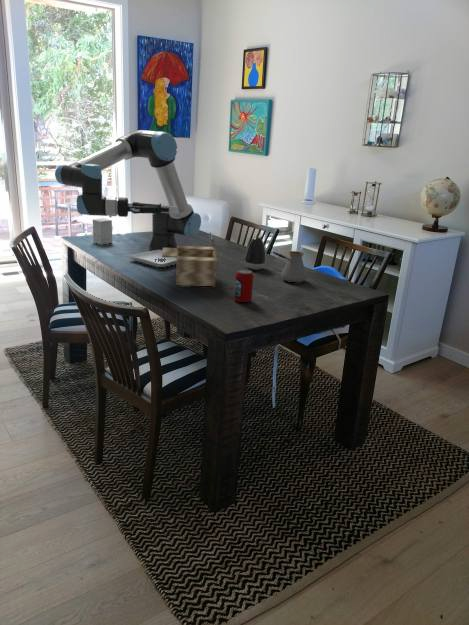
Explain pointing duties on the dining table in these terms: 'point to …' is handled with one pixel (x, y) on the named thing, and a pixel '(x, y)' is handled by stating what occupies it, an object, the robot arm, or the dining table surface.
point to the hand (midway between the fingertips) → (177, 210)
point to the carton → (193, 265)
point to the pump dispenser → (255, 254)
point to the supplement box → (102, 231)
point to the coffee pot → (293, 267)
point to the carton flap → (213, 244)
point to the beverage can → (243, 285)
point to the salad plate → (152, 255)
